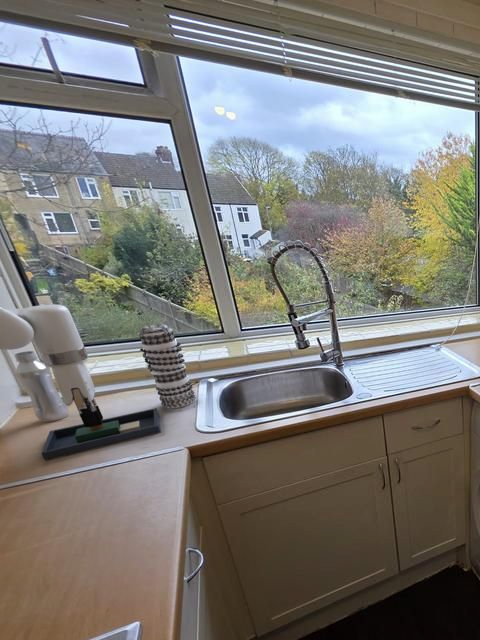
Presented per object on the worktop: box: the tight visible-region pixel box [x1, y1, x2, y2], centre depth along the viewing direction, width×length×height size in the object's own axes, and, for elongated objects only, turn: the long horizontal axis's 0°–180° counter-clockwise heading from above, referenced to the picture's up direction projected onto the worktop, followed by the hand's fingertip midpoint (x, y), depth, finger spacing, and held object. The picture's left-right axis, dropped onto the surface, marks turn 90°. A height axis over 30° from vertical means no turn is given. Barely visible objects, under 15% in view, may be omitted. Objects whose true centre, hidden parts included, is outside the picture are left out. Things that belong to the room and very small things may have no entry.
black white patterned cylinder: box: [136, 324, 197, 409], centre depth 121 cm, size 9×9×25 cm
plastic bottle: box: [14, 350, 70, 423], centre depth 112 cm, size 6×7×20 cm
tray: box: [40, 407, 161, 461], centre depth 108 cm, size 22×14×3 cm, turn 130°
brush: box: [75, 402, 120, 443], centre depth 105 cm, size 8×5×10 cm, turn 130°
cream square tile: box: [120, 421, 141, 433], centre depth 110 cm, size 4×4×1 cm
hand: (94, 422), depth 105 cm, fingers closed on brush, 2 cm apart
